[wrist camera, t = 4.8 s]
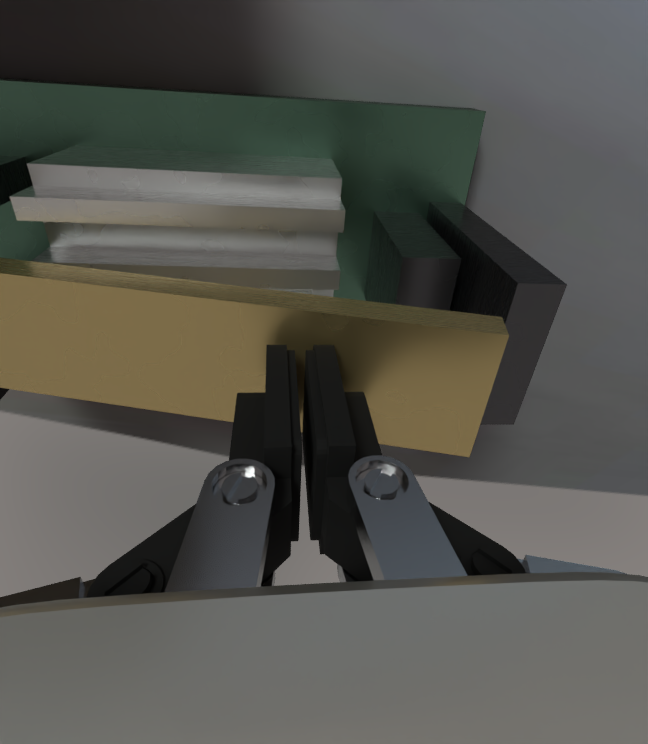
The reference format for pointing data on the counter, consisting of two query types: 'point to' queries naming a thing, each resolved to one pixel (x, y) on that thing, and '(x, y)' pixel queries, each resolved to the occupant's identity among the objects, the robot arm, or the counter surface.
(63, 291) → the retention strap
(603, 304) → the counter surface
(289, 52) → the counter surface
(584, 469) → the counter surface
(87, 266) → the cooling block
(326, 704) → the robot arm
